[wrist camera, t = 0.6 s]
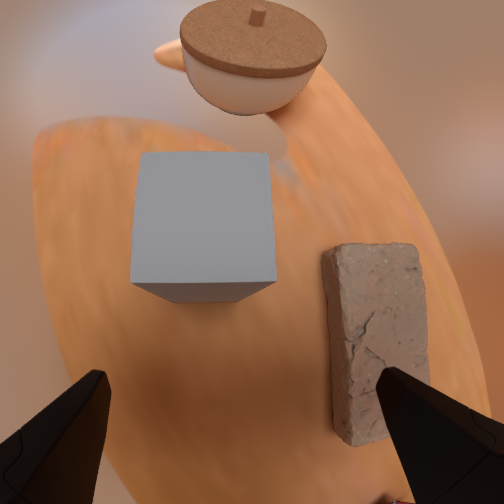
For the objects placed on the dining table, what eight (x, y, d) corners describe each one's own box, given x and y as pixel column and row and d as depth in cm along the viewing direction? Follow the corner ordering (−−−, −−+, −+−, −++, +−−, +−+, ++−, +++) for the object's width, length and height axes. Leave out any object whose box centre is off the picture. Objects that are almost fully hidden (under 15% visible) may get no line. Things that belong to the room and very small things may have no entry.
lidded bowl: (263, 50, 30) (283, -19, 19) (320, 119, 28) (364, 45, 17) (166, 74, 27) (161, -6, 16) (211, 154, 25) (218, 62, 14)
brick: (315, 252, 25) (338, 238, 20) (392, 248, 26) (421, 236, 21) (327, 433, 21) (351, 453, 17) (402, 410, 23) (431, 421, 18)
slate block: (237, 301, 22) (277, 281, 10) (173, 302, 22) (130, 282, 9) (235, 239, 23) (268, 153, 11) (173, 240, 23) (141, 152, 10)
